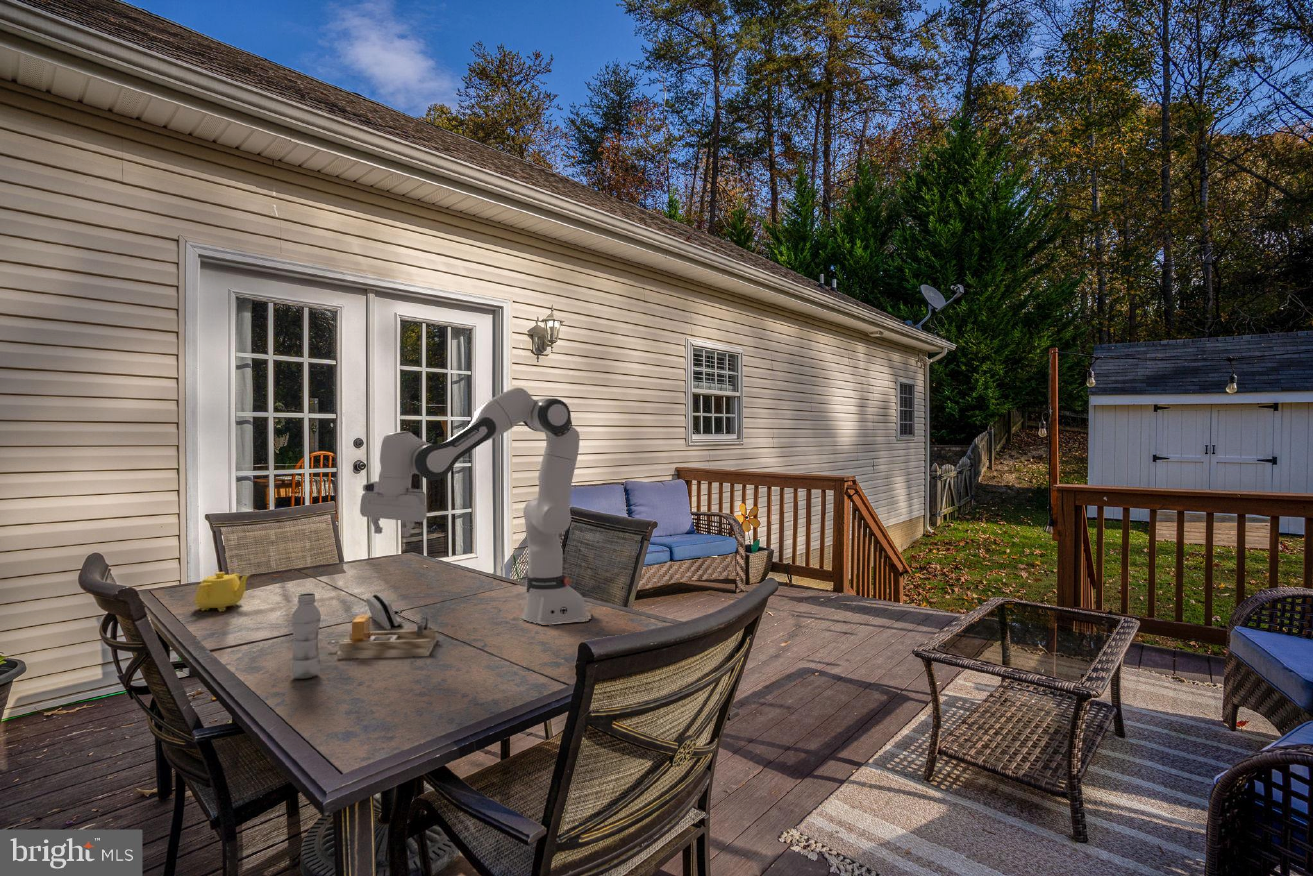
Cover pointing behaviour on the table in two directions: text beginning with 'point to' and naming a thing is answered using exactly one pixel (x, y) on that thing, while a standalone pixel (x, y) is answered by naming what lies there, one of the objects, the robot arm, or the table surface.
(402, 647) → the guide board
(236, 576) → the teapot
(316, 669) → the plastic bottle
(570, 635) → the table surface
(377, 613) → the grey rounded slab
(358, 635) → the chain end link
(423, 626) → the keeper hook
